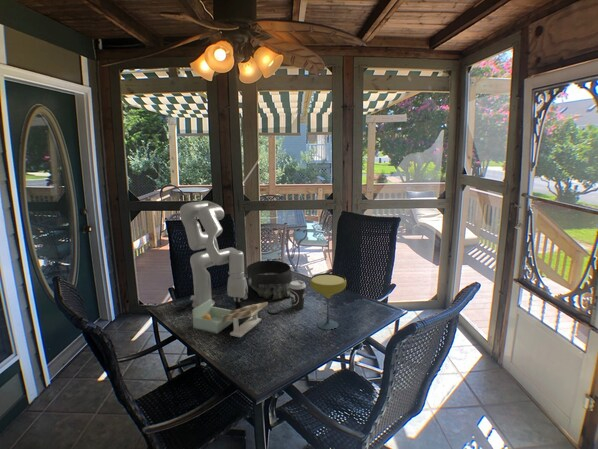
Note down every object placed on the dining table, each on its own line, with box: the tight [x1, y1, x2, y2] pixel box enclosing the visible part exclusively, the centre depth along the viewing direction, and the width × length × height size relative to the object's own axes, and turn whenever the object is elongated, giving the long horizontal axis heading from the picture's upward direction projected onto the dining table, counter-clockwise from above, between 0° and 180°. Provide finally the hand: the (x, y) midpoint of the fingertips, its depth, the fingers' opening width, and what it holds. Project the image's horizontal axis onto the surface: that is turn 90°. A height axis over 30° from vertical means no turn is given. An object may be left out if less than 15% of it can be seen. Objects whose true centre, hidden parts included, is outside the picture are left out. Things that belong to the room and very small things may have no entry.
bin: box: [191, 299, 233, 334], centre depth 195 cm, size 15×15×10 cm
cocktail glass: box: [309, 272, 347, 331], centre depth 192 cm, size 18×18×25 cm
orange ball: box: [203, 314, 211, 320], centre depth 198 cm, size 4×4×4 cm
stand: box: [229, 304, 262, 338], centre depth 192 cm, size 6×20×9 cm, turn 155°
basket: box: [246, 259, 293, 301], centre depth 239 cm, size 28×35×16 cm
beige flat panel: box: [222, 301, 269, 322], centre depth 191 cm, size 18×16×3 cm
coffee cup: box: [289, 280, 307, 311], centre depth 214 cm, size 10×10×15 cm
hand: (238, 308), depth 198 cm, fingers closed
